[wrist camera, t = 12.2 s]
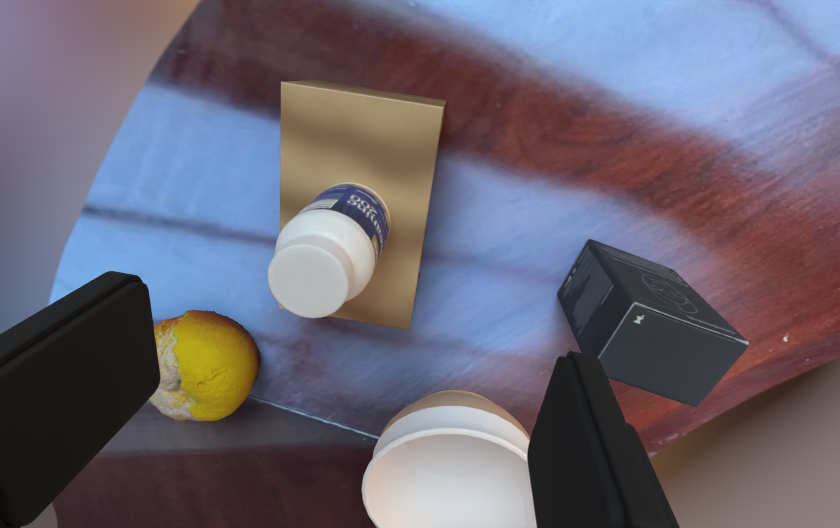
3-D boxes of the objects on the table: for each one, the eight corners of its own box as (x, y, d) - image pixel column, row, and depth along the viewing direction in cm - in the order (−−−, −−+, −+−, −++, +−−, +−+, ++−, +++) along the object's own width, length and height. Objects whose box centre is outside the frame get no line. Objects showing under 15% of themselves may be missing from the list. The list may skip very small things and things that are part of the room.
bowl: (417, 341, 41) (408, 400, 34) (568, 409, 43) (590, 479, 35) (353, 452, 47) (334, 522, 40) (486, 508, 49) (490, 584, 42)
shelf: (311, 79, 32) (280, 81, 27) (446, 100, 32) (443, 107, 27) (304, 274, 39) (279, 308, 34) (417, 292, 39) (409, 330, 33)
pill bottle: (404, 240, 30) (381, 312, 22) (336, 266, 32) (288, 343, 23) (371, 167, 29) (330, 213, 20) (299, 197, 30) (231, 253, 21)
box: (555, 294, 38) (586, 372, 28) (587, 236, 35) (634, 299, 26) (638, 325, 38) (698, 412, 29) (676, 269, 36) (755, 344, 26)
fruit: (155, 284, 40) (122, 339, 33) (273, 307, 44) (265, 361, 37) (141, 377, 45) (109, 442, 38) (250, 391, 48) (239, 453, 41)
